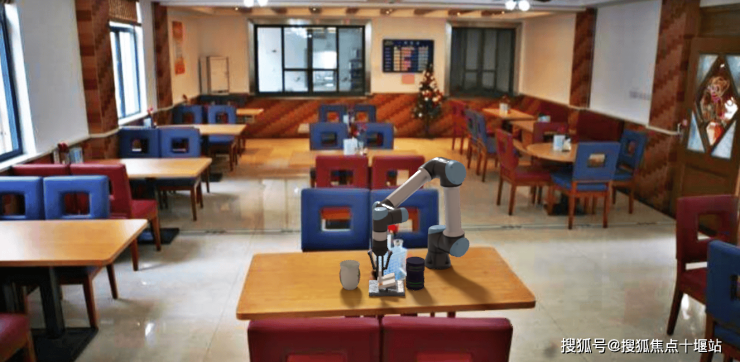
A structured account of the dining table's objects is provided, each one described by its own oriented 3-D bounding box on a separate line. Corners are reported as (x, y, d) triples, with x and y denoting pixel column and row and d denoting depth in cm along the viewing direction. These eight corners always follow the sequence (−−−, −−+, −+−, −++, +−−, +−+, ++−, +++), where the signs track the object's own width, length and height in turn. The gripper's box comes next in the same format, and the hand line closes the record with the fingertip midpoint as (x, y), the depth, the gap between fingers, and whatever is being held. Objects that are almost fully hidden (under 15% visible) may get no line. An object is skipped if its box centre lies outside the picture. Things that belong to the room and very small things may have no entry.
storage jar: (409, 291, 294) (409, 264, 290) (402, 283, 303) (403, 257, 299) (427, 289, 296) (428, 262, 292) (420, 281, 305) (421, 255, 302)
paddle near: (395, 281, 293) (394, 278, 292) (395, 284, 288) (394, 281, 288) (378, 285, 293) (377, 282, 293) (378, 289, 289) (377, 286, 289)
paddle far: (394, 275, 300) (393, 272, 300) (395, 278, 296) (394, 275, 295) (378, 279, 301) (377, 276, 300) (378, 283, 296) (377, 280, 296)
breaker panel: (403, 283, 303) (403, 277, 302) (404, 296, 288) (404, 289, 287) (369, 283, 303) (369, 277, 302) (368, 296, 288) (368, 289, 288)
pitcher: (360, 279, 308) (360, 255, 305) (360, 293, 291) (360, 268, 288) (340, 279, 308) (339, 255, 305) (338, 293, 291) (338, 268, 288)
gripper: (392, 235, 288) (392, 279, 294) (367, 235, 288) (367, 279, 294) (393, 240, 281) (393, 285, 287) (366, 241, 281) (367, 285, 287)
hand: (380, 282), depth 291 cm, fingers closed
